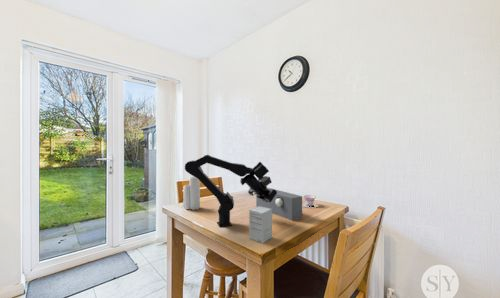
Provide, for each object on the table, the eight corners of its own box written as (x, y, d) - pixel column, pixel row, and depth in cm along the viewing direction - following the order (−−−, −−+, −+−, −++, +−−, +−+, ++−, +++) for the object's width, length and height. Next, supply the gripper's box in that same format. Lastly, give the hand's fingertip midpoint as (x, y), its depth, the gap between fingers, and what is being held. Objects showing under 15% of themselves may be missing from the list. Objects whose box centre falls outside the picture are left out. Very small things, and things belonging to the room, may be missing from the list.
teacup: (303, 202, 151) (303, 193, 151) (320, 204, 145) (320, 195, 145) (298, 206, 141) (298, 197, 141) (316, 209, 135) (316, 199, 135)
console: (291, 220, 114) (291, 198, 114) (256, 206, 140) (256, 188, 140) (302, 217, 119) (302, 196, 119) (265, 204, 145) (265, 187, 145)
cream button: (280, 207, 119) (280, 199, 119) (275, 205, 122) (275, 197, 122) (283, 206, 120) (283, 199, 120) (277, 205, 123) (277, 197, 123)
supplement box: (259, 233, 98) (259, 205, 98) (272, 237, 93) (272, 208, 93) (248, 238, 92) (248, 209, 92) (262, 243, 87) (262, 212, 87)
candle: (201, 207, 140) (201, 176, 140) (197, 210, 133) (196, 178, 133) (185, 206, 142) (185, 176, 142) (180, 209, 135) (179, 177, 135)
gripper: (273, 173, 106) (290, 192, 112) (252, 170, 121) (267, 187, 128) (261, 191, 102) (279, 210, 108) (240, 185, 117) (257, 202, 124)
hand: (270, 201), depth 117 cm, fingers closed
